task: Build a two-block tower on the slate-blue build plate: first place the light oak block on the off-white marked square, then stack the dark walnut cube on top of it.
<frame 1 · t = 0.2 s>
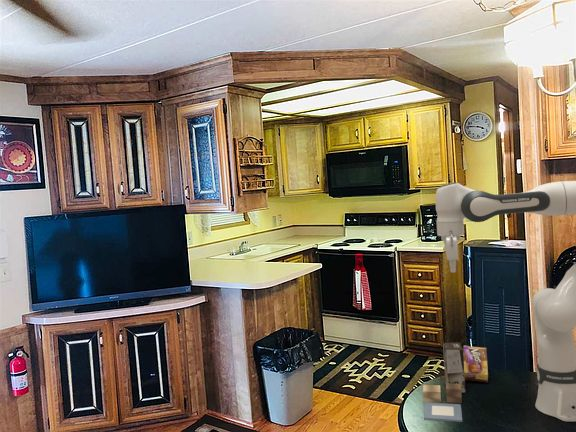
hand: (452, 269, 169), 47 cm above the table, tool pointing down, fingers open, 8 cm apart
walnut cube: (454, 399, 174), on the table
build plate: (442, 412, 165), on the table
candy box: (475, 378, 187), point 2 cm above the table
coffee box: (455, 388, 184), on the table
oak block: (432, 399, 176), on the table
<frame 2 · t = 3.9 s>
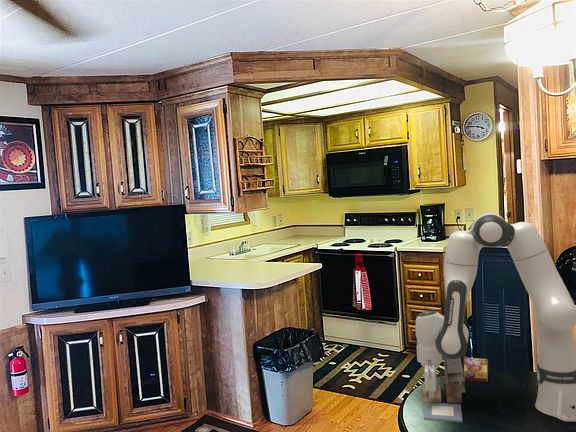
hand: (432, 393, 176), 2 cm above the table, tool pointing down, fingers closed on oak block, 6 cm apart
candy box: (474, 376, 188), point 2 cm above the table
oak block: (432, 398, 176), on the table, touching gripper
everything else where it was.
when the fingers open (4 cm above the table, at t = 9.4 s): oak block drops 1 cm, resting on build plate.
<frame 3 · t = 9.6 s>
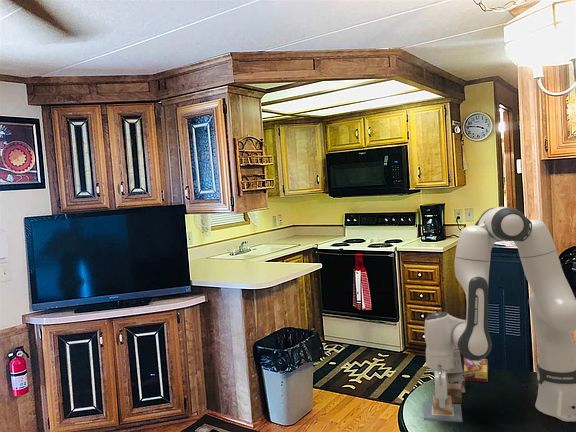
hand: (442, 401, 164), 4 cm above the table, tool pointing down, fingers open, 8 cm apart
oak block: (442, 410, 165), point 1 cm above the table, touching build plate
everything else where it was.
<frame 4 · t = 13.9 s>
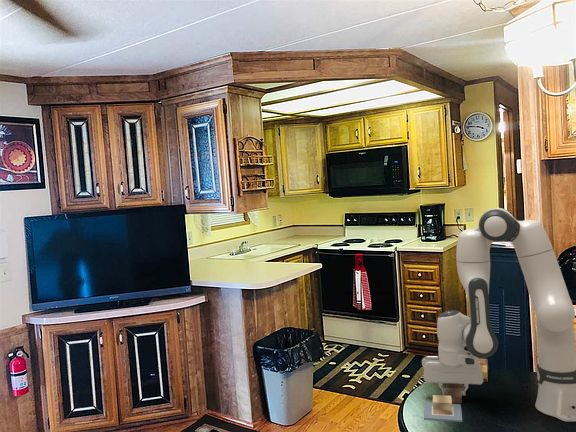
hand: (453, 394, 174), 2 cm above the table, tool pointing down, fingers closed on walnut cube, 5 cm apart
walnut cube: (454, 399, 174), on the table, touching gripper
everything else where it was.
when the fingers open (7 cm above the table, at t = 18.6 s): walnut cube stays where it is, resting on oak block.
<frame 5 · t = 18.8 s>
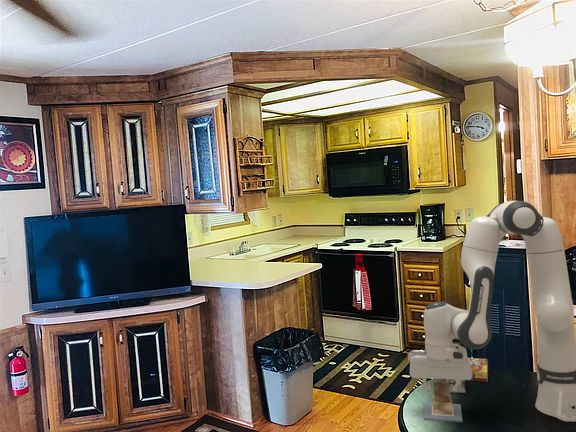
hand: (441, 390, 164), 7 cm above the table, tool pointing down, fingers open, 7 cm apart
walnut cube: (442, 398, 164), point 5 cm above the table, touching oak block
oak block: (442, 410, 165), point 1 cm above the table, touching build plate, walnut cube
everything else where it was.
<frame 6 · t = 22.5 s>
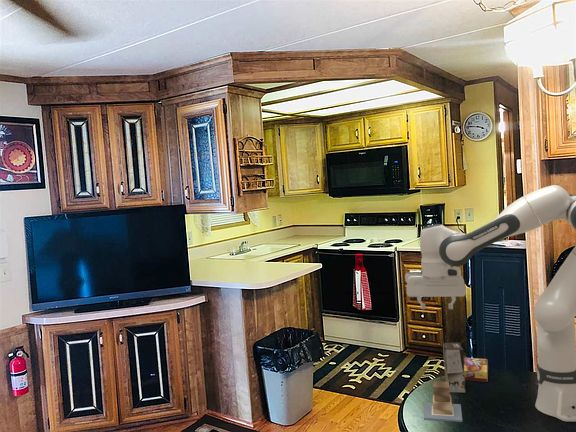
hand: (436, 308, 173), 33 cm above the table, tool pointing down, fingers open, 8 cm apart
nothing on the table moved.
at the end: oak block 0.1 cm off-centre on the build plate, point 0.7 cm above the build plate's base; walnut cube 0.1 cm off-centre on the oak block, point 4.0 cm above the oak block's base; walnut cube tilted 0° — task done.
